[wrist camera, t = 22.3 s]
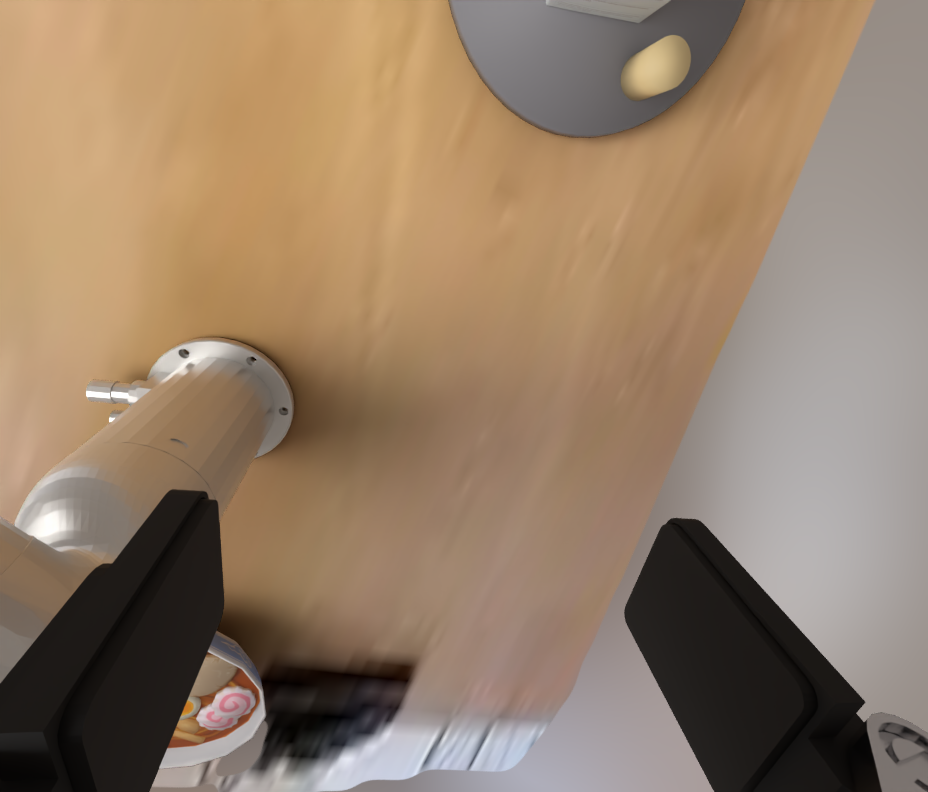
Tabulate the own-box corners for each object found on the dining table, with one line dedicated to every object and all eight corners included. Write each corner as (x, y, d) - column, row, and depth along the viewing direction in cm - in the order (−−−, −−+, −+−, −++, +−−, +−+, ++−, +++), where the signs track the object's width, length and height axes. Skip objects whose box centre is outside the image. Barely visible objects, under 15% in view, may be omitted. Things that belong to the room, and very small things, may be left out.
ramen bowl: (267, 714, 62) (250, 784, 55) (80, 705, 56) (32, 782, 49) (297, 586, 53) (281, 651, 45) (77, 560, 47) (17, 629, 40)
